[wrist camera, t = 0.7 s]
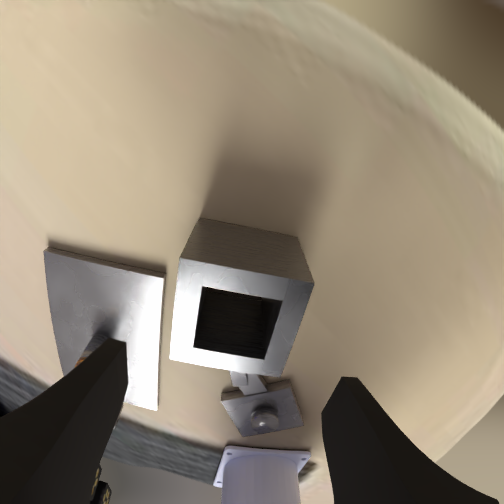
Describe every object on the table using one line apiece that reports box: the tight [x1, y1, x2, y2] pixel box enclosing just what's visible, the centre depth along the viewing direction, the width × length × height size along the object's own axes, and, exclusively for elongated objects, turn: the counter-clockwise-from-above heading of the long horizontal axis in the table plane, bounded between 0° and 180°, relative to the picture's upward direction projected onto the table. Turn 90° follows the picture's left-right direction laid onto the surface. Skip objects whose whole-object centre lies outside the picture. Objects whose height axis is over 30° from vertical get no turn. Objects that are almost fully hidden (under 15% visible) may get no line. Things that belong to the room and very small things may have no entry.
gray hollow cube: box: [170, 218, 314, 377], centre depth 15 cm, size 5×5×5 cm
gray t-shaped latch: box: [221, 370, 304, 437], centre depth 20 cm, size 10×5×2 cm, turn 17°
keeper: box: [44, 247, 166, 429], centre depth 18 cm, size 12×8×4 cm, turn 168°
